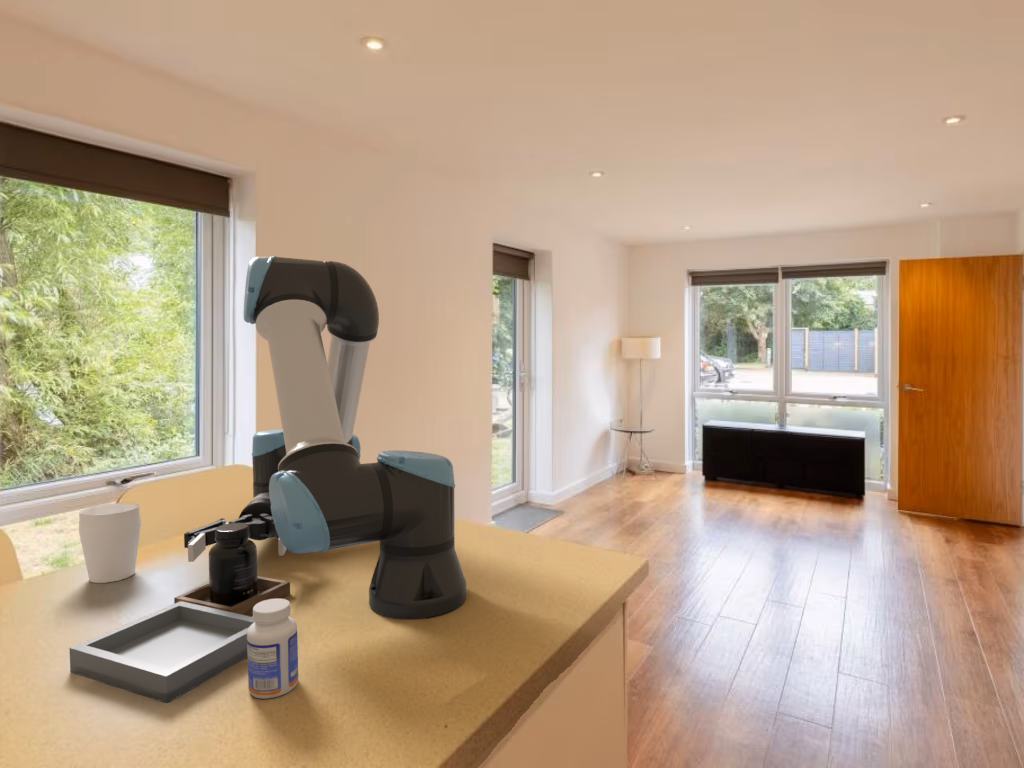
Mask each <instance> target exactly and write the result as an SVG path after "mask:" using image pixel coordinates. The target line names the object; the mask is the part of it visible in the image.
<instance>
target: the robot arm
mask: <svg viewBox="0 0 1024 768" xmlns="http://www.w3.org/2000/svg"><path fill="white" fill-rule="evenodd" d="M245 280H246V281H245V287H244V296H243V297H244V299H243V321H244V322H246V323H249V324H251V325H255V328H256V331H257V333H258V334H259V336H260V337H261V338H262V339H265V340H266V341H267V342H268V348H269V349H268V350H269V355H270V361H271V368H272V373H273V379H274V386H275V391H276V397H277V403H278V409H279V416H280V421H281V427H282V428H281V429H268V430H259V431H258V432H256V433H254V434H253V436H252V451H251V452H252V453H251V459H252V460H251V461H252V478H253V479H252V480H253V482H252V483H253V484H252V495H253V497H252V499H251V500H250V501H249V503H247V505H246V506H244V508H243V509H242V510H241V511H240V514H239V516H238V518H234V519H231V520H229V521H228V522H226V521H227V520H226V519H225V518H223V517H222V518H218V519H217V520H216V521H213V522H210V523H208V524H206V525H203V526H202V525H201V526H200V527H196V528H194V529H192V530H189V531H186V532H183V541H184V543H183V545H184V549H187V559H188V561H187V562H188V563H193V562H194V563H195V561H196V559H198V557H200V556H201V554H202V553H204V551H205V550H206V548H207V547H208V546H212V545H215V544H217V542H216V541H215V529H216V528H217V527H219V526H221V525H224V524H230V523H246V524H248V525H249V533H250V537H249V538H248V539H249V540H253V541H264V540H268V539H269V538H270V539H271V538H278V540H277V543H278V545H277V547H278V548H277V550H278V556H284V555H285V553H286V551H287V550H288V551H289V552H290V553H293V554H307V553H324V552H327V551H328V550H334V549H339V548H345V547H353V546H357V545H362V544H368V543H369V544H370V543H374V542H379V554H378V557H377V561H376V563H375V564H376V565H375V567H374V570H373V574H372V577H371V580H370V584H369V586H368V604H369V607H370V608H371V610H373V611H374V612H376V613H378V614H380V615H382V616H385V617H390V618H395V619H407V620H408V619H425V618H430V617H436V616H441V615H443V614H447V613H449V612H451V611H453V610H455V609H457V608H459V607H460V606H461V605H462V604H464V602H465V601H466V598H467V581H466V578H465V576H464V572H463V570H462V569H463V568H462V567H461V563H460V561H459V557H458V555H457V551H456V547H455V543H456V542H455V488H456V484H455V474H454V466H453V464H452V461H451V460H450V459H449V458H448V457H445V456H443V455H440V454H436V453H430V452H424V451H423V452H422V451H414V450H413V451H412V450H400V449H398V450H395V449H394V450H389V449H388V450H382V451H380V452H378V456H377V457H376V462H371V463H370V462H369V463H368V462H366V463H361V462H360V459H361V443H360V439H359V437H358V436H357V435H356V434H354V431H355V430H354V428H355V423H356V419H357V413H358V408H359V402H360V398H361V397H360V396H361V392H362V387H363V381H364V376H365V369H366V365H367V361H368V357H369V349H370V344H371V342H372V341H374V340H375V339H376V337H377V334H378V330H379V326H380V325H379V323H380V313H379V307H378V302H377V299H376V295H375V294H374V291H373V290H372V287H371V286H370V284H369V283H368V281H367V280H366V279H365V277H364V276H363V275H362V274H361V273H359V272H358V271H357V270H356V269H355V268H353V267H351V266H350V265H348V264H346V263H343V262H339V261H333V260H332V261H330V260H329V261H325V260H315V259H314V260H313V259H303V258H294V257H293V258H291V257H282V256H281V257H280V256H275V255H272V256H255V257H252V259H251V260H250V261H249V263H248V266H247V272H246V278H245ZM325 328H326V330H327V332H328V333H329V334H330V340H329V348H328V355H326V351H325V347H324V343H323V338H322V334H321V333H322V332H323V331H324V330H325Z"/></svg>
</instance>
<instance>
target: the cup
mask: <svg viewBox="0 0 1024 768" xmlns="http://www.w3.org/2000/svg"><path fill="white" fill-rule="evenodd" d="M78 517H79V520H78V533H79V538H80V543H81V547H82V552H83V556H84V563H85V566H86V571H87V575H88V579H89V580H88V581H90V582H91V583H94V584H105V583H106V584H107V583H108V582H109V583H115V582H119V581H123V580H125V579H127V578H129V577H131V576H133V575H134V574H135V573H136V566H137V557H138V551H139V541H140V533H141V526H142V518H141V509H140V504H139V503H135V502H117V503H115V502H114V503H107V504H101V505H95V506H90V507H88V508H84V509H82V510H80V511H79V515H78ZM122 579H123V580H122ZM114 581H115V582H114Z"/></svg>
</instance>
